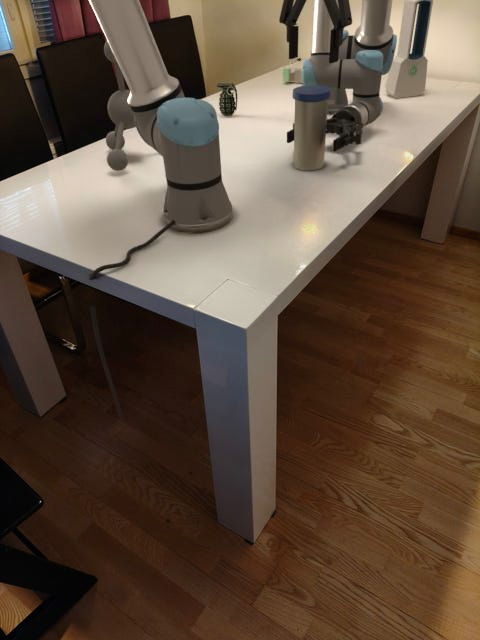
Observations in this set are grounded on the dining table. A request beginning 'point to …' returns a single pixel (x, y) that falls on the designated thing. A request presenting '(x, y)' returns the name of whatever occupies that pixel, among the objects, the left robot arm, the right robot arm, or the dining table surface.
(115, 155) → the molecular model
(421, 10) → the electronic device
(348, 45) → the right robot arm
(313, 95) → the lid
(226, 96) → the grenade
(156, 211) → the dining table surface
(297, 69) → the decorative block
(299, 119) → the jar
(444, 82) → the dining table surface
